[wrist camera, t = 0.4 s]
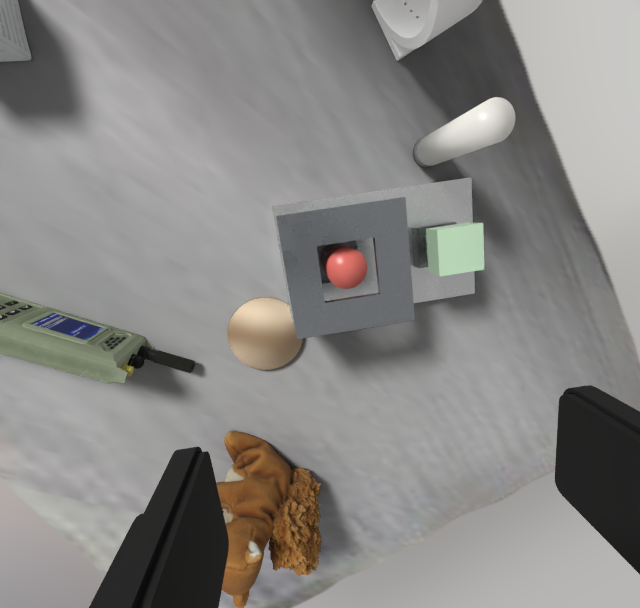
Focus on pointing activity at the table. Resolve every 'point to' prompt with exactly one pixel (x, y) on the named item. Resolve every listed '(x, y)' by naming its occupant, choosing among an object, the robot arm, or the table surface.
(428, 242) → the on button
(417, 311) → the table surface
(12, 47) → the skincare box
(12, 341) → the handheld radio
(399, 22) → the headphone stand
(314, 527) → the brown rounded furry figure
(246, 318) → the cork coaster
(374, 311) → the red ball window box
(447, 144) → the white rounded rod
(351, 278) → the plunger
